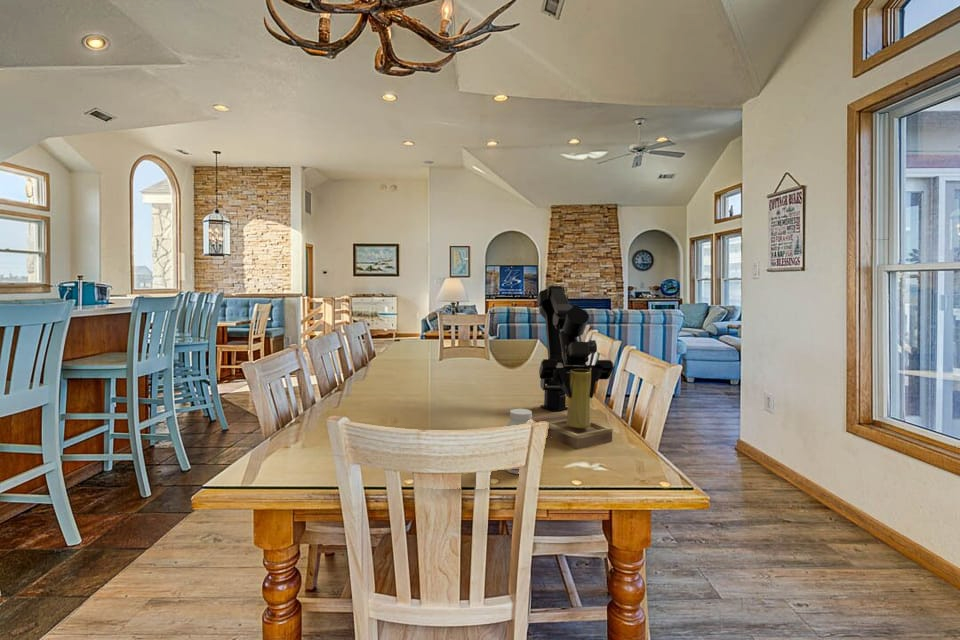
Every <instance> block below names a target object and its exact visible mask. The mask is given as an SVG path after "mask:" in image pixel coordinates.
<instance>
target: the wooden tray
mask: <svg viewBox="0 0 960 640" xmlns="http://www.w3.org/2000/svg"><path fill="white" fill-rule="evenodd" d="M531 419H533V420H534V421H536V422H539V421H547V422H549V429H548V436H549V437H548V438H550V437H552V438H554V439H556V440H555V441H557V440H558V441H557V442H559V441H560V443H561V442H562V444H563V445H566V446H568V447H571V448H573V449H575V450H579V449H582V448H587V447H588V446H589V447H591V446H592V445H593V446H596V445H597V444H598V445H602V444H605V442H607V443H610V442H609V441H612V442H613V428H611V427H609V426H606V425H603V424H601V423H599V422H598V423H597V422H594V421H593V420H592V421H591V420H590V424H591V425H590V427H588V428H573V427H570V426H568V425H567V424H566V422H567V414H564V413H561V412H558V413H552V414H544V415H539V416H532V418H531ZM552 438H551V439H552ZM554 439H553V440H554ZM601 443H602V444H601Z"/></svg>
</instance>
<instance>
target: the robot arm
mask: <svg viewBox="0 0 960 640" xmlns="http://www.w3.org/2000/svg"><path fill="white" fill-rule="evenodd" d="M546 287H547V288H545V289H542V290H540V291H539V292H538V294H537V297H536V304H537V306H538V309H539V310H538V311H539V314H540V315H541V316H542V317H543V319H544V321H545V322H544V323H545V336H546V346H547V347H546V348H547V358H543V359H542V360H541V363H540V366H539V369H538V370H539V371H538V374H539V379H540V381H539V382H540V388H541V390H542V391H544V399H543V400H544V401H543V404H541V405H540V406H539V407H540V408H542V409H545V410H547V411H551V412H557V411H558V412H559V411H565V410H568V406H566V401H567V400H566V398H568V399H569V398H571V391H570V387H569V384H570V370H571V369H588V370H590V371H591V389H590V399H593V397H594V393H595V392H594V391H595V387H596V386H595V385H596V382H599V380H608V379H610V377H611V376H612V373H613V371H614V368H615V367H614V363H613V361H612V360H611V359H596V361H595V364H591V365H590V364H587V363H588V362H589V356H591V354H596V353H597V352H598V345H597V341H596V340H594V339H593V340H592V339H590V340H588V341H582V337H581V336H583V335H584V332H585V330H586V327H587V324H588V321H589V318H590V315H589V313H588V312H587V311H586V310H585V309H583V308H581V307H580V304H572V305H571V304H570V302H569V300H568V297H567V295H566V291H565V287H564V286H562V285H549V286H546Z"/></svg>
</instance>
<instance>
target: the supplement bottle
mask: <svg viewBox="0 0 960 640" xmlns="http://www.w3.org/2000/svg"><path fill="white" fill-rule="evenodd" d="M532 417H533V412H532V410H531V409H528V408H527V409H526V408H513V409H510V410H509V418H510V421H507V423H506V424H505V426H511V425H519V424H524V423H526V422H527V421H528V420H530V419H531V418H532ZM505 471H507V472H508V473H511V474H513V475H518V472H519V469H511V470H506V469H505Z"/></svg>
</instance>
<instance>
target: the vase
mask: <svg viewBox="0 0 960 640" xmlns="http://www.w3.org/2000/svg"><path fill="white" fill-rule="evenodd" d="M569 387H570V391H571V398H568V399H567V401H568V402H567V403H568V404H567V407H568V409H567V413H566V415H567V422H566V424H567V425H568V426H570V427H573V428H588V427H590V425H591V424H590V421H591V398H590V389H591V371H590V370H588V369H571V370H570V384H569Z"/></svg>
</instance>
